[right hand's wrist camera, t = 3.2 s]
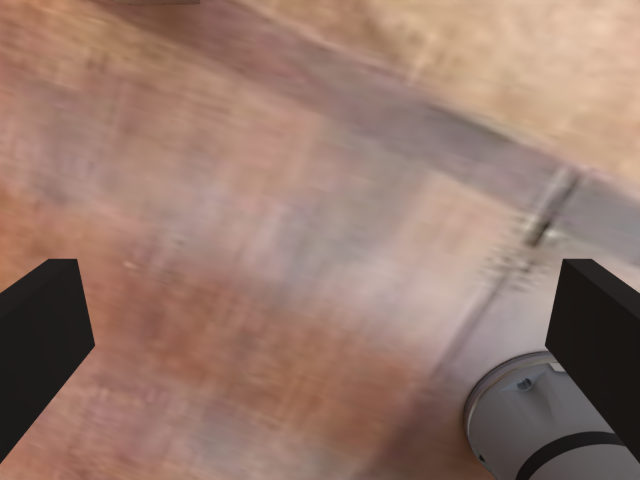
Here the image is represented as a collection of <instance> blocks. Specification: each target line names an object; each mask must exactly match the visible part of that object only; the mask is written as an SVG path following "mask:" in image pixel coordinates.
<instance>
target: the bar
mask: <svg viewBox="0 0 640 480" xmlns="http://www.w3.org/2000/svg"><path fill="white" fill-rule="evenodd" d="M113 1H117V2H121V3H125V4H129V5H159V4H200V0H113Z"/></svg>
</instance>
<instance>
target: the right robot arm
mask: <svg viewBox="0 0 640 480" xmlns="http://www.w3.org/2000/svg"><path fill="white" fill-rule="evenodd" d="M94 346H95V342H94V338H93V333H92V328H91V323H90V318H89V314H88V309H87V304H86V299H85V295H84V290H83V285H82V280H81V276H80V271H79V266H78V261H77V259H48V260H46V261H45V262H43V263H42V264H41V265H39V266H38V267H36V268H35V269H34V270H32V271H31V272H29V273H28V274H27V275H25V276H24V277H22V278H21V279H20V280H18V281H17V282H15V283H14V284H13V285H11V286H10V287H8V288H7V289H6V290H4V291H3V292H1V293H0V464H1V462H2V461H3V460H4V459H5V457H6V456H7V455H8V454H9V452H10V451H11V450H12V449H13V447H14V446H15V445H16V444H17V442H18V441H19V440H20V439H21V437H22V436H23V435H24V434H25V432H26V431H27V430H28V429H29V427H30V426H31V425H32V424H33V423H34V421H35V420H36V419H37V418H38V416H39V415H40V414H41V413H42V411H43V410H44V409H45V408H46V406H47V405H48V404H49V403H50V401H51V400H52V399H53V398H54V396H55V395H56V394H57V393H58V391H59V390H60V389H61V388H62V386H63V385H64V384H65V383H66V381H67V380H68V379H69V378H70V376H71V375H72V374H73V373H74V371H75V370H76V369H77V368H78V366H79V365H80V364H81V363H82V361H83V360H84V359H85V358H86V356H87V355H88V354H89V353H90V351H91V350H92V349H93V348H94ZM545 346H546V348H547V349H548V350H549V351H550V352H539V353H532V354H528V355H524V356H521V357H518V358H515V359H513V360H510V361H508V362H506V363H504V364H502V365H500V366H499V367H497V368H496V369H494V370H493V371H491V372H490V373H489V374H488V375H486V376H485V377H484V378H483V379H482V380H481V381H480V382H479V384H478V385H477V386H476V387H475V389H474V390H473V392H472V393H471V395H470V397H469V399H468V401H467V404H466V407H465V411H464V429H465V433H466V436H467V438H468V441H469V444H470V446H471V449H472V451H473V453H474V454H475V456H476V457H477V459H478V460H479V461H480V462H481V464H482V465H483V466H484V467H485V468H486V469H487V470H488V471H489V472H491V473H492V475H493V476H494V478H495V479H496V480H640V293H639V292H637V291H636V290H634V289H633V288H632V287H630V286H629V285H627V284H626V283H625V282H623V281H622V280H620V279H619V278H618V277H616V276H615V275H613V274H612V273H611V272H609V271H608V270H606V269H605V268H604V267H602V266H601V265H599V264H598V263H597V262H595V261H594V260H592V259H563V261H562V266H561V271H560V276H559V280H558V285H557V290H556V295H555V299H554V304H553V309H552V314H551V318H550V323H549V328H548V333H547V337H546V342H545Z"/></svg>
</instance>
